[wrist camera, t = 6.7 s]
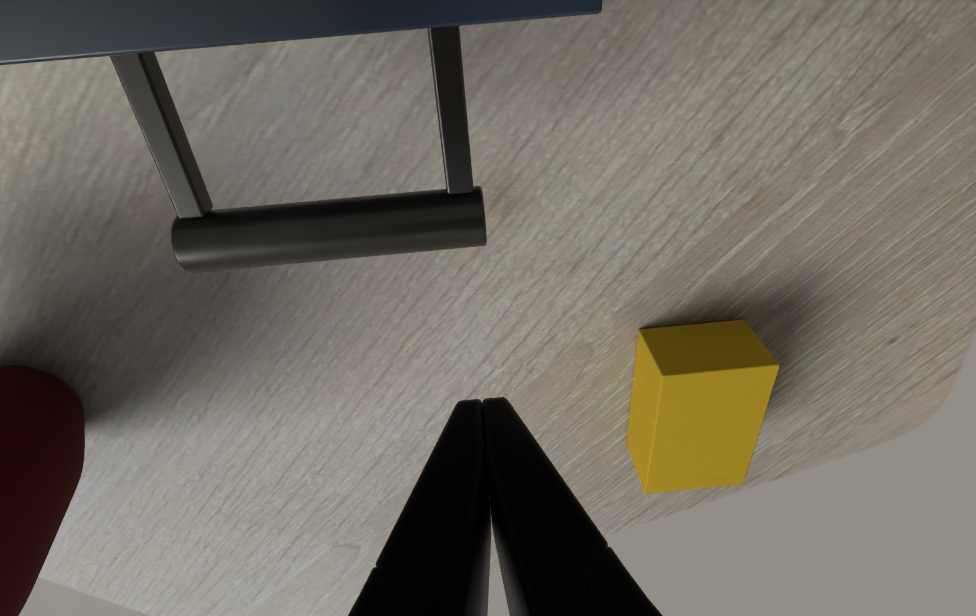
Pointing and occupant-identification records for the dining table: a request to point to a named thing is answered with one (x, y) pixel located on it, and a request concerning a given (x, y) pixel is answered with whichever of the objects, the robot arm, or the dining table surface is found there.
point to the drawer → (268, 18)
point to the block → (698, 404)
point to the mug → (34, 474)
